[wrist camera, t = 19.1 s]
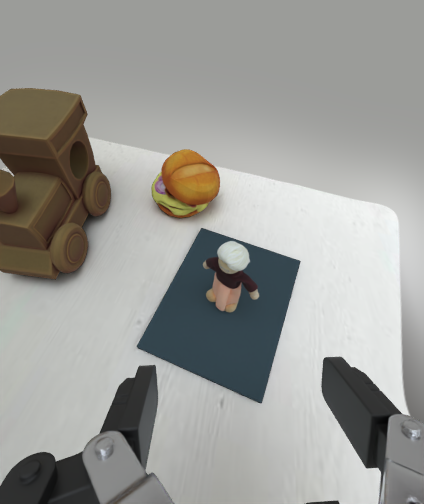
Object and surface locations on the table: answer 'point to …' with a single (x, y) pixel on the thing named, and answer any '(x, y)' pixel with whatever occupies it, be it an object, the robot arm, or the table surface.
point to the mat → (223, 319)
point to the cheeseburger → (185, 184)
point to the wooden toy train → (46, 182)
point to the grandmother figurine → (230, 276)
